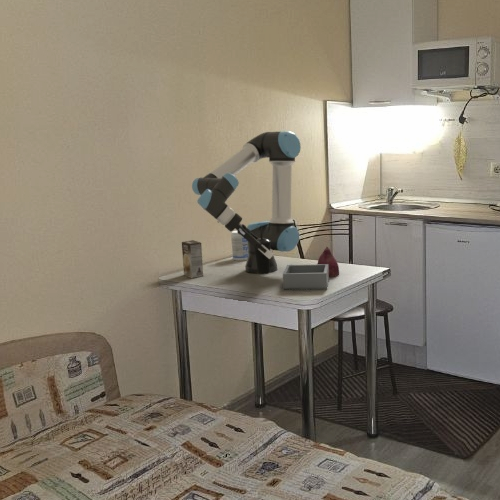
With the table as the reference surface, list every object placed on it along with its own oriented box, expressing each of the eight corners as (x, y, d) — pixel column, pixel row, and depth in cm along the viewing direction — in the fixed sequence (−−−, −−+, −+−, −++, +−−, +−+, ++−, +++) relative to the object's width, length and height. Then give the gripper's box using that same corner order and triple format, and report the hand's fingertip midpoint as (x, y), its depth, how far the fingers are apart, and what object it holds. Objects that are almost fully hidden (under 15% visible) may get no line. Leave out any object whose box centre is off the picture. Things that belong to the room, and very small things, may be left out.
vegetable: (337, 284, 309) (340, 253, 302) (314, 281, 311) (316, 251, 304) (339, 273, 318) (342, 243, 312) (317, 270, 320) (319, 241, 314)
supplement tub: (247, 261, 354) (245, 233, 351) (229, 261, 357) (228, 232, 355) (253, 257, 363) (252, 229, 360) (236, 257, 366) (235, 229, 364)
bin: (287, 280, 307) (287, 265, 306) (329, 279, 304) (328, 264, 303) (283, 290, 289) (282, 274, 288) (327, 289, 286) (326, 273, 285)
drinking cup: (253, 271, 297) (251, 225, 293) (271, 270, 298) (269, 224, 294) (255, 275, 290) (252, 228, 286) (273, 274, 290) (271, 226, 287)
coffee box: (183, 275, 330) (180, 241, 327) (195, 273, 333) (193, 239, 330) (191, 278, 322) (189, 244, 319) (204, 276, 326) (201, 242, 323)
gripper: (224, 222, 299) (264, 256, 302) (223, 229, 280) (266, 266, 283) (235, 209, 298) (275, 244, 302) (235, 215, 279) (278, 252, 282)
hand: (271, 254), depth 292 cm, fingers closed on drinking cup, 7 cm apart
